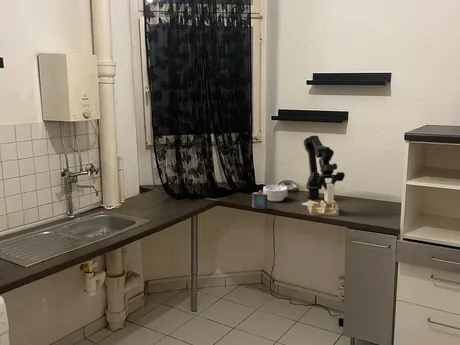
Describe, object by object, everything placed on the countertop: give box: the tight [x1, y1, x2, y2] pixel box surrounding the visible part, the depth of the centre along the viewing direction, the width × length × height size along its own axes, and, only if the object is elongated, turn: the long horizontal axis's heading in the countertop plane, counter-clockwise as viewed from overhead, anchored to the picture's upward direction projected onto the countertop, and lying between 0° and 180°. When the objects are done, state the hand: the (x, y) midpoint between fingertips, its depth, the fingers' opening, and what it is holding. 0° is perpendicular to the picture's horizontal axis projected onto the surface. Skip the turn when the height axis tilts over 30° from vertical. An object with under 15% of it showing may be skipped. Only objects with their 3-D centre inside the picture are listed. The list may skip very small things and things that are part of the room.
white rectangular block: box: [323, 182, 335, 203], centre depth 267 cm, size 4×6×10 cm, turn 5°
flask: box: [252, 189, 268, 210], centre depth 276 cm, size 9×3×11 cm, turn 65°
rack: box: [307, 199, 340, 217], centre depth 269 cm, size 14×15×5 cm
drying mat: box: [301, 200, 318, 207], centre depth 283 cm, size 12×9×1 cm
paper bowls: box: [262, 184, 289, 202], centre depth 295 cm, size 15×15×8 cm
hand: (330, 189), depth 265 cm, fingers closed on white rectangular block, 3 cm apart
